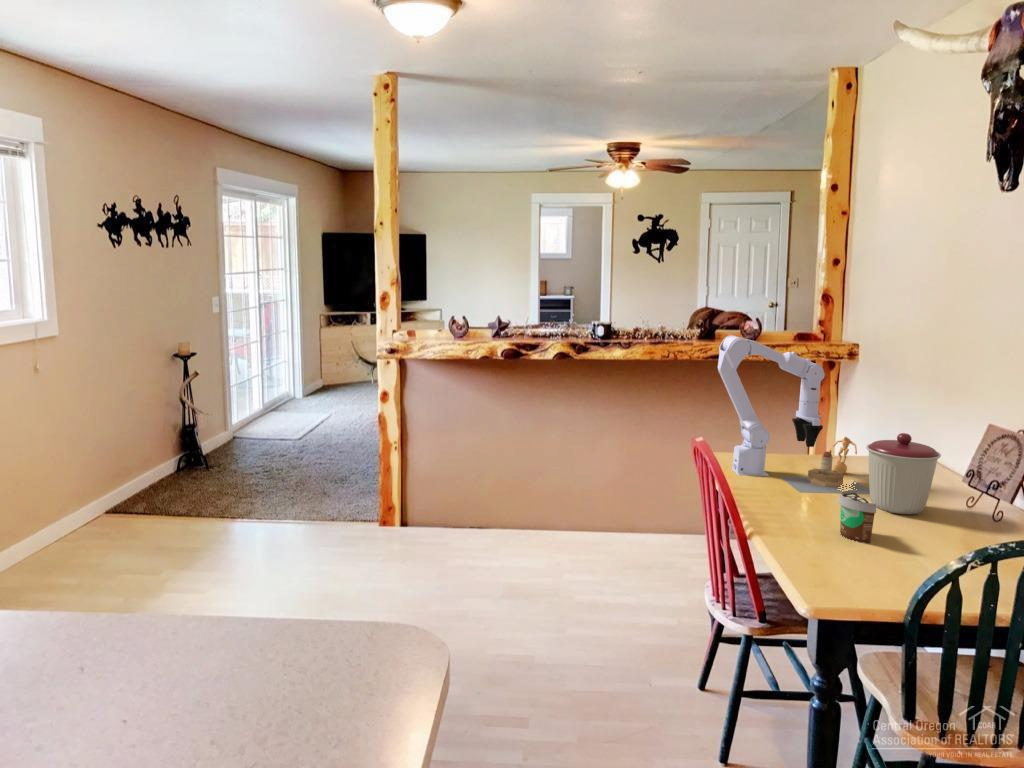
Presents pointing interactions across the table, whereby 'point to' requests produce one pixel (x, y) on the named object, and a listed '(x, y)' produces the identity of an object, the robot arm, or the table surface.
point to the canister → (901, 474)
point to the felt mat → (819, 486)
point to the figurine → (841, 465)
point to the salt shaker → (826, 463)
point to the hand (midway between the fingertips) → (805, 443)
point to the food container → (856, 516)
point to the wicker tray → (825, 478)
